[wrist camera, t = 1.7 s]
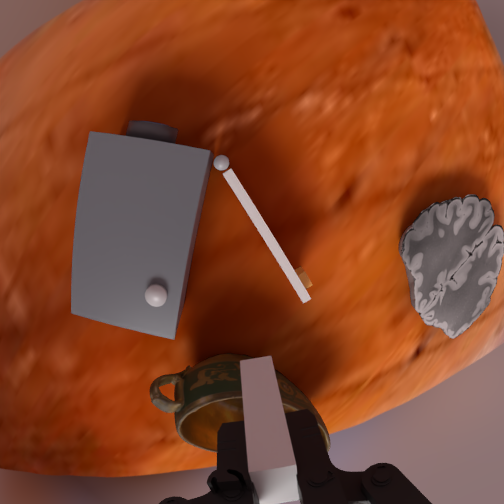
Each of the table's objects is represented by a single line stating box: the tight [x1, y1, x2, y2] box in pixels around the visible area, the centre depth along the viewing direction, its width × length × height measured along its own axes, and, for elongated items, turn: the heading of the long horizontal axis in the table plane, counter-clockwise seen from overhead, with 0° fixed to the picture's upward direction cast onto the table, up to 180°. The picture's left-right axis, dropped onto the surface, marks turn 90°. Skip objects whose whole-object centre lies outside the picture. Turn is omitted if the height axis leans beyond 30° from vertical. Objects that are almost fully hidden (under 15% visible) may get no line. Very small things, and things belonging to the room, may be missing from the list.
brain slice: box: [399, 194, 504, 338], centre depth 33 cm, size 20×17×3 cm
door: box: [214, 155, 313, 303], centre depth 28 cm, size 2×14×6 cm, turn 32°
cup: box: [150, 353, 330, 452], centre depth 31 cm, size 13×20×10 cm, turn 29°
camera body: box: [71, 121, 214, 339], centre depth 26 cm, size 10×18×8 cm, turn 167°
